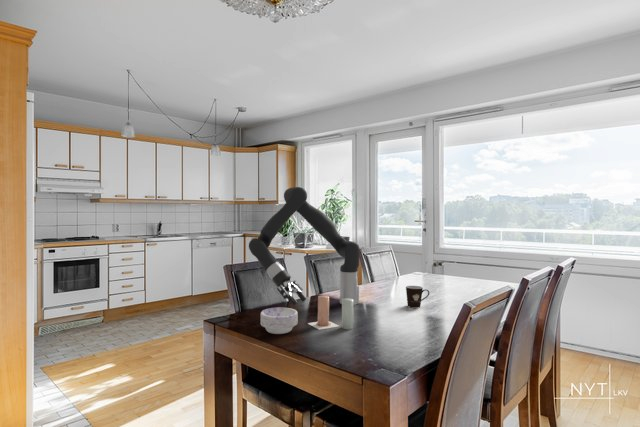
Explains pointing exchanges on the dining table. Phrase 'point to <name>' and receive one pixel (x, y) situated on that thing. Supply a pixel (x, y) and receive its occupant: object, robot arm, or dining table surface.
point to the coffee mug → (415, 295)
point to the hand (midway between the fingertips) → (300, 302)
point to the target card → (331, 325)
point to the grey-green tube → (347, 313)
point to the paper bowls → (279, 319)
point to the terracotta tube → (323, 310)
